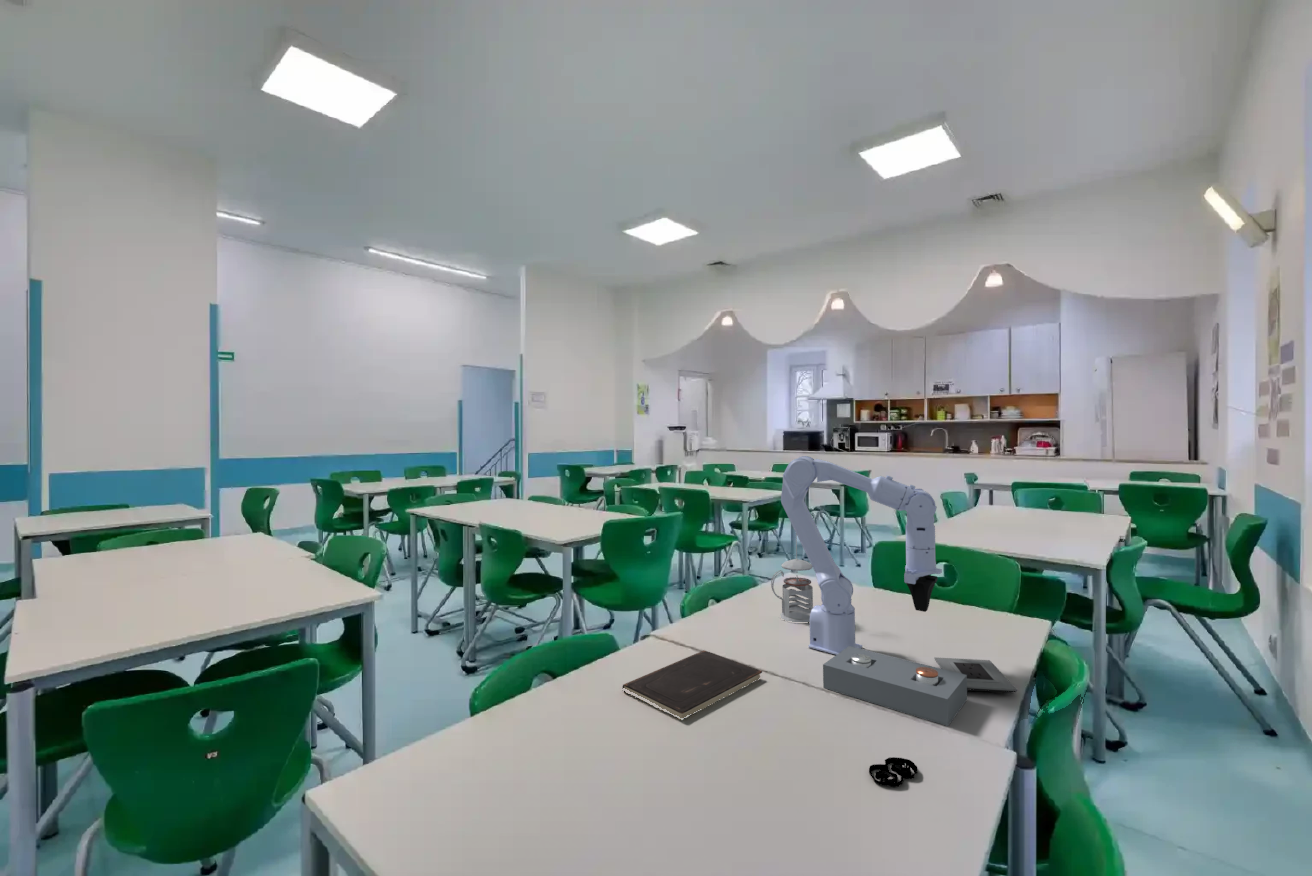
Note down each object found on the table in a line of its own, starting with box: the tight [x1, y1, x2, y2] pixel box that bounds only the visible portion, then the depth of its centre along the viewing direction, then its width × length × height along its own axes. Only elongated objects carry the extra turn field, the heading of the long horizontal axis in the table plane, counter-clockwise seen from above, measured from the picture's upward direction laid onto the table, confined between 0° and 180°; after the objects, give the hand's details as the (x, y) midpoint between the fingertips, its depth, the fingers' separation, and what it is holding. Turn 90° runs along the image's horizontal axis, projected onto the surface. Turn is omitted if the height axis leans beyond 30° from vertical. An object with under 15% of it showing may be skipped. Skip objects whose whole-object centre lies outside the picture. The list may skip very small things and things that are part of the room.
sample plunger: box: [851, 654, 871, 668], centre depth 110 cm, size 4×4×5 cm
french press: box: [770, 533, 814, 622], centre depth 149 cm, size 10×12×25 cm
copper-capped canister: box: [916, 667, 938, 686], centre depth 102 cm, size 4×4×5 cm
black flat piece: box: [868, 756, 918, 788], centre depth 81 cm, size 5×8×1 cm, turn 120°
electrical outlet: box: [933, 656, 1018, 694], centre depth 110 cm, size 13×10×2 cm
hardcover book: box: [622, 649, 763, 718], centre depth 111 cm, size 16×23×2 cm
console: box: [822, 646, 968, 727], centre depth 106 cm, size 22×12×4 cm, turn 48°
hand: (921, 610), depth 121 cm, fingers closed
